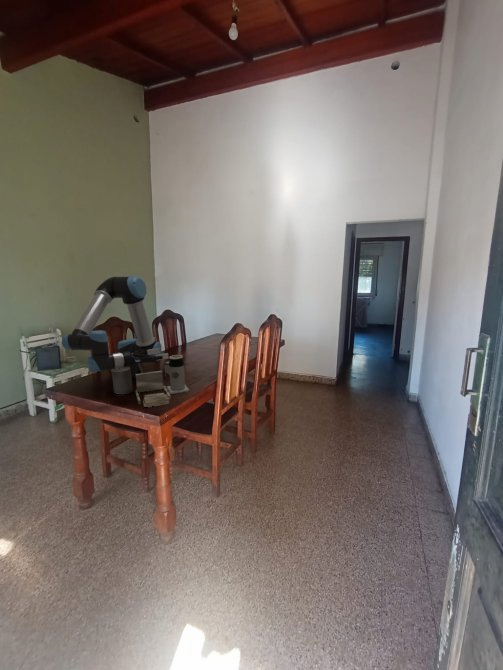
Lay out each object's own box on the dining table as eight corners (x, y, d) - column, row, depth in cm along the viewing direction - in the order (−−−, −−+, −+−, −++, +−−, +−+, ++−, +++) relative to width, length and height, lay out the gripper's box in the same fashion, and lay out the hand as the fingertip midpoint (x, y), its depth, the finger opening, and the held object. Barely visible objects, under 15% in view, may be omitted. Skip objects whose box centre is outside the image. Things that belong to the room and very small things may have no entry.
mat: (167, 388, 191) (167, 386, 191) (184, 385, 195) (184, 383, 195) (170, 394, 182) (170, 392, 182) (188, 391, 186) (188, 389, 186)
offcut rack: (135, 391, 186) (133, 374, 184) (164, 387, 192) (163, 370, 190) (140, 409, 163) (138, 389, 161) (173, 403, 169) (172, 384, 167)
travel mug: (175, 384, 193) (173, 354, 189) (187, 386, 191) (186, 355, 187) (167, 389, 185) (165, 358, 182) (180, 391, 183) (178, 359, 179)
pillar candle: (130, 388, 192) (127, 362, 189) (134, 393, 184) (132, 366, 181) (112, 391, 187) (109, 365, 184) (116, 397, 179) (112, 370, 176)
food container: (186, 377, 209) (185, 361, 207) (180, 380, 204) (179, 364, 202) (170, 374, 214) (169, 359, 212) (164, 377, 209) (162, 362, 207)
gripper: (117, 361, 180) (156, 355, 191) (129, 373, 159) (172, 365, 171) (115, 347, 178) (155, 342, 190) (128, 357, 158) (171, 351, 169)
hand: (163, 353), depth 180 cm, fingers open, 13 cm apart
